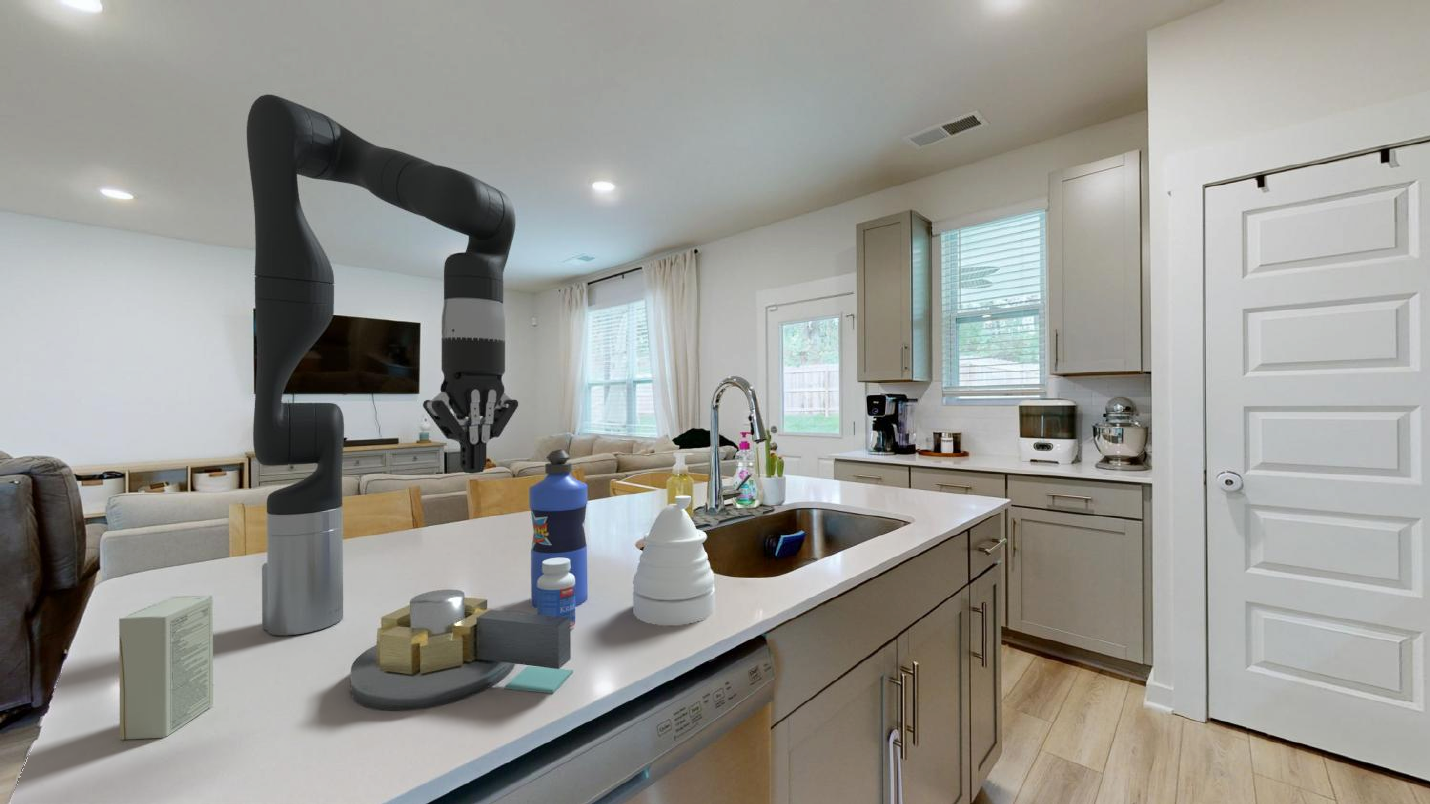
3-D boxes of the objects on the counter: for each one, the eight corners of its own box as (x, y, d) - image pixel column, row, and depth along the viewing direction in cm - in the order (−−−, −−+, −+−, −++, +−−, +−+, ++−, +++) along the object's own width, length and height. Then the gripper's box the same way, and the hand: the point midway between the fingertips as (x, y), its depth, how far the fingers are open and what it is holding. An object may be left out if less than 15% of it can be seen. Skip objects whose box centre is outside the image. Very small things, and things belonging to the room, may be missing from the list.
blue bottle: (546, 615, 87) (544, 453, 88) (520, 600, 94) (519, 450, 95) (599, 600, 94) (597, 449, 94) (571, 587, 101) (570, 447, 101)
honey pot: (730, 604, 91) (728, 493, 91) (683, 632, 80) (682, 505, 80) (666, 591, 98) (665, 487, 98) (616, 615, 87) (614, 498, 87)
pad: (504, 688, 65) (504, 686, 65) (527, 668, 70) (527, 666, 70) (553, 693, 63) (553, 690, 63) (572, 672, 68) (572, 670, 68)
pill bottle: (565, 637, 79) (564, 567, 79) (529, 634, 80) (529, 565, 80) (581, 622, 84) (581, 556, 85) (548, 619, 86) (548, 555, 86)
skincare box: (172, 708, 61) (171, 596, 61) (216, 706, 62) (215, 594, 62) (116, 742, 55) (115, 617, 55) (165, 739, 55) (164, 615, 56)
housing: (310, 702, 62) (310, 620, 62) (425, 636, 80) (424, 572, 80) (456, 718, 59) (455, 631, 59) (542, 645, 76) (541, 578, 76)
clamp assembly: (350, 665, 65) (350, 623, 65) (433, 623, 77) (433, 588, 77) (532, 691, 58) (531, 644, 58) (591, 641, 71) (591, 602, 71)
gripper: (445, 331, 65) (445, 482, 65) (534, 340, 76) (533, 468, 77) (406, 334, 69) (406, 476, 69) (496, 342, 80) (496, 464, 80)
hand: (473, 472), depth 73 cm, fingers closed
